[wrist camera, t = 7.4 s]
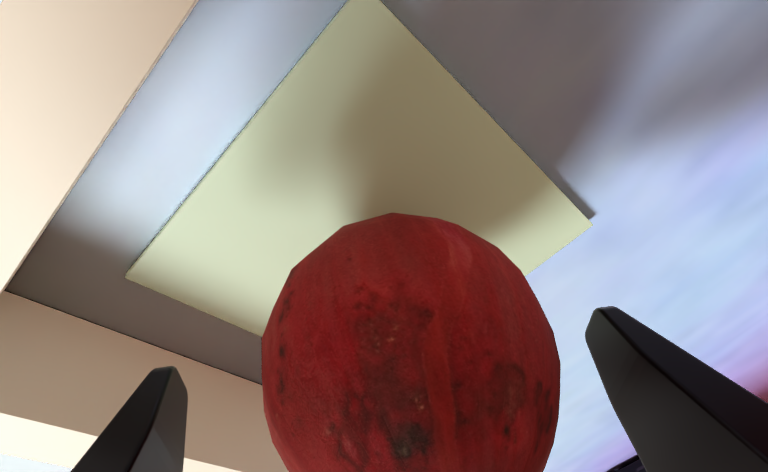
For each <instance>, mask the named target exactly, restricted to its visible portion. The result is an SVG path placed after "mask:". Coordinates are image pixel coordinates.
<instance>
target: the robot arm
mask: <svg viewBox="0 0 768 472" xmlns="http://www.w3.org/2000/svg"><path fill="white" fill-rule="evenodd" d="M585 338H586V342H587V345H588V348H589V350H590V353H591V355H592V358H593V360H594V363H595V365H596V368H597V370H598V373H599V375H600V378H601V380H602V383H603V385H604V388H605V390H606V393H607V395H608V397H609V400H610V402H611V404H612V406H613V408H614V410H615V412H616V414H617V416H618V418H619V420H620V422H621V424H622V426H623V427H624V429H625V431H626V433H627V435H628V437H629V439H630V441H631V443H632V445H633V446H634V448H635V450H636V452H637V454H638V456H639V458H640V459H639V460H637V461H635V462H633V463H631V464H629V465H628V466H626V467H624V468H622V469H620V470H618V471H616V472H768V403H766V402H765V401H763V400H762V399H760V398H759V397H757V396H755V395H754V394H752V393H751V392H749V391H748V390H746V389H744V388H743V387H741V386H740V385H738V384H736V383H735V382H733V381H732V380H730V379H729V378H727V377H725V376H724V375H722V374H721V373H719V372H718V371H716V370H714V369H713V368H711V367H710V366H708V365H707V364H705V363H703V362H702V361H700V360H699V359H697V358H696V357H694V356H692V355H691V354H689V353H688V352H686V351H685V350H683V349H681V348H680V347H678V346H677V345H675V344H674V343H672V342H670V341H669V340H667V339H666V338H664V337H663V336H661V335H659V334H658V333H656V332H655V331H653V330H652V329H650V328H648V327H647V326H645V325H644V324H642V323H640V322H639V321H637V320H636V319H634V318H633V317H631V316H629V315H628V314H626V313H625V312H623V311H622V310H620V309H618V308H616V307H614V306H608V307H601V308H596V309H595V310H594V311H593V314H592V316H591V319H590V321H589V324H588V326H587V329H586V332H585ZM187 407H188V393H187V389H186V386H185V384H184V382H183V380H182V378H181V376H180V374H179V372H178V370H177V368H176V367H174V366H166V367H159V368H155V369H153V370H151V371H150V372H149V374H148V375H147V376H146V377H145V379H144V380H143V381H142V382H141V384H140V385H139V386H138V387H137V389H136V390H135V391H134V392H133V394H132V395H131V396H130V397H129V399H128V400H127V401H126V403H125V404H124V405H123V406H122V408H121V409H120V410H119V411H118V413H117V414H116V415H115V416H114V418H113V419H112V420H111V421H110V423H109V424H108V425H107V426H106V428H105V429H104V430H103V431H102V433H101V434H100V435H99V437H98V438H97V439H96V440H95V442H94V443H93V444H92V445H91V447H90V448H89V449H88V450H87V452H86V453H85V454H84V455H83V457H82V458H81V459H80V460H79V462H78V463H77V464H76V465H75V467H74V468H73V469H72V471H71V472H183V464H184V450H185V436H186V421H187Z"/></svg>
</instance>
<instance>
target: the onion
mask: <svg viewBox="0 0 768 472" xmlns="http://www.w3.org/2000/svg"><path fill="white" fill-rule="evenodd" d="M262 387H263V403H264V414H265V417H266V421H267V424H268V428H269V432H270V435H271V439H272V443H273V444H274V446H275V448H276V450H277V452H278V454H279V455H280V457H281V459H282V461H283V463H284V465H285V466H286V468H287V470H288V471H289V472H543V470H544V468H545V466H546V463H547V460H548V457H549V455H550V452H551V449H552V446H553V443H554V438H555V432H556V427H557V422H558V415H559V399H560V359H559V355H558V351H557V346H556V342H555V338H554V333H553V330H552V328H551V326H550V324H549V322H548V320H547V318H546V316H545V314H544V312H543V310H542V308H541V306H540V304H539V301H538V300H537V298H536V296H535V294H534V293H533V291H532V289H531V287H530V286H529V284H528V282H527V280H526V278H525V277H524V275H523V273H522V271H521V270H520V269H519V268H518V267H517V266H516V265H515V264H514V263H513V262H512V261H511V260H510V259H509V258H508V257H507V256H506V255H505V254H504V253H503V252H502V251H501V250H500V249H499V248H498V247H497V246H495V245H493V244H491V243H490V242H488V241H486V240H484V239H483V238H481V237H479V236H477V235H476V234H474V233H472V232H470V231H469V230H467V229H465V228H463V227H462V226H460V225H458V224H455V223H452V222H449V221H445V220H442V219H439V218H433V217H425V216H417V215H409V214H401V213H393V212H392V213H388V214H385V215H381V216H377V217H374V218H370V219H366V220H363V221H359V222H355V223H352V224H348V225H344V226H342V227H341V228H340V229H339V230H338V231H336V232H335V233H334V234H333V235H331V236H330V237H329V238H328V239H327V240H325V241H324V242H323V243H322V244H320V245H319V246H318V247H317V248H315V249H314V250H313V251H312V252H311V253H309V254H308V255H307V256H306V257H305V258H304V259H302V260H301V261H300V262H299V263H298V264H297V265H296V266H294V267H293V268H292V269H291V271H290V273H289V275H288V278H287V280H286V282H285V284H284V286H283V288H282V290H281V292H280V294H279V297H278V299H277V301H276V303H275V305H274V307H273V309H272V312H271V315H270V317H269V320H268V323H267V326H266V328H265V331H264V334H263V336H262Z"/></svg>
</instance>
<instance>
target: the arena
mask: <svg viewBox="0 0 768 472" xmlns="http://www.w3.org/2000/svg"><path fill="white" fill-rule="evenodd" d="M198 1H199V0H2V2H1V4H0V454H5V455H9V456H14V457H19V458H24V459H29V460H34V461H39V462H44V463H49V464H54V465H59V466H64V467H69V468H74V467H75V465H76V464H77V463H78V462H79V460H80V459H81V458H82V457H83V455H84V454H85V453H86V452H87V450H88V449H89V448H90V447H91V445H92V444H93V443H94V442H95V440H96V439H97V438H98V437H99V435H100V434H101V433H102V431H103V430H104V429H105V428H106V426H107V425H108V424H109V423H110V421H111V420H112V419H113V418H114V416H115V415H116V414H117V413H118V411H119V410H120V409H121V408H122V406H123V405H124V404H125V403H126V401H127V400H128V399H129V397H130V396H131V395H132V394H133V392H134V391H135V390H136V389H137V387H138V386H139V385H140V384H141V382H142V381H143V380H144V379H145V377H146V376H147V375H148V374H149V372H150V371H151V370H153V369H155V368H159V367H166V366H174V367H176V368H177V370H178V372H179V374H180V376H181V378H182V380H183V382H184V384H185V386H186V389H187V393H188V407H187V421H186V436H185V450H184V464H183V472H289V471H288V470H287V468H286V466H285V465H284V463H283V461H282V459H281V457H280V455H279V454H278V452H277V450H276V448H275V446H274V444H273V443H272V439H271V435H270V432H269V428H268V424H267V421H266V417H265V414H264V403H263V387H262V385H260V384H257V383H254V382H252V381H249V380H246V379H243V378H241V377H238V376H235V375H232V374H230V373H227V372H224V371H222V370H219V369H216V368H213V367H211V366H208V365H205V364H202V363H200V362H197V361H194V360H192V359H189V358H186V357H183V356H181V355H178V354H175V353H173V352H170V351H167V350H164V349H162V348H159V347H156V346H153V345H151V344H148V343H145V342H143V341H140V340H137V339H134V338H132V337H129V336H126V335H123V334H121V333H118V332H115V331H113V330H110V329H107V328H104V327H102V326H99V325H96V324H93V323H91V322H88V321H85V320H83V319H80V318H77V317H74V316H72V315H69V314H66V313H63V312H61V311H58V310H55V309H53V308H50V307H47V306H44V305H42V304H39V303H36V302H33V301H31V300H28V299H25V298H23V297H20V296H17V295H14V294H12V293H9V292H6V291H4V290H5V288H6V287H7V285H8V284H9V282H10V281H11V279H12V278H13V276H14V275H15V273H16V272H17V270H18V269H19V267H20V266H21V264H22V263H23V261H24V260H25V258H26V257H27V255H28V254H29V253H30V251H31V250H32V248H33V247H34V245H35V244H36V242H37V241H38V239H39V238H40V236H41V235H42V233H43V232H44V230H45V229H46V227H47V226H48V224H49V223H50V221H51V220H52V218H53V217H54V215H55V214H56V212H57V211H58V209H59V208H60V206H61V205H62V203H63V202H64V200H65V199H66V197H67V196H68V194H69V193H70V191H71V190H72V188H73V187H74V185H75V184H76V183H77V181H78V180H79V178H80V177H81V175H82V174H83V172H84V171H85V169H86V168H87V166H88V165H89V163H90V162H91V160H92V159H93V157H94V156H95V154H96V153H97V151H98V150H99V148H100V147H101V145H102V144H103V142H104V141H105V139H106V138H107V136H108V135H109V133H110V132H111V130H112V129H113V127H114V126H115V124H116V123H117V121H118V120H119V118H120V117H121V116H122V114H123V113H124V111H125V110H126V108H127V107H128V105H129V104H130V102H131V101H132V99H133V98H134V96H135V95H136V93H137V92H138V90H139V89H140V87H141V86H142V84H143V83H144V81H145V80H146V78H147V77H148V75H149V74H150V72H151V71H152V69H153V68H154V66H155V65H156V63H157V62H158V60H159V59H160V57H161V56H162V54H163V53H164V51H165V50H166V48H167V47H168V46H169V44H170V43H171V41H172V40H173V38H174V37H175V35H176V34H177V32H178V31H179V29H180V28H181V26H182V25H183V23H184V22H185V20H186V19H187V17H188V16H189V14H190V13H191V11H192V10H193V8H194V7H195V5H196V4H197V2H198ZM392 212H393V213H401V214H409V215H417V216H425V217H433V218H439V219H442V220H445V221H449V222H452V223H455V224H458V225H460V226H462V227H463V228H465V229H467V230H469V231H470V232H472V233H474V234H476V235H477V236H479V237H481V238H483V239H484V240H486V241H488V242H490V243H491V244H493V245H495V246H497V247H498V248H499V249H500V250H501V251H502V252H503V253H504V254H505V255H506V256H507V257H508V258H509V259H510V260H511V261H512V262H513V263H514V264H515V265H516V266H517V267H518V268H519V269H520V270H521V271H522V273H523V275H524V277H525V276H526V275H527V274H529V273H530V272H531V271H533V270H534V269H535V268H537V267H538V266H539V265H541V264H542V263H543V262H545V261H546V260H547V259H549V258H550V257H551V256H553V255H554V254H555V253H557V252H558V251H559V250H561V249H562V248H563V247H565V246H566V245H567V244H569V243H570V242H571V241H573V240H574V239H575V238H577V237H578V236H579V235H581V234H582V233H583V232H584V231H586V230H587V229H588V228H590V227H591V226H592V225H593V224H592V223H591V222H590V221H589V220H588V219H587V218H586V217H585V216H584V215H583V213H582V212H581V211H580V210H579V209H578V208H577V207H576V206H575V205H574V204H573V203H572V202H571V201H570V200H569V199H568V198H567V197H566V196H565V195H564V193H563V192H562V191H561V190H560V189H559V188H558V187H557V186H556V185H555V184H554V183H553V182H552V181H551V180H550V179H549V178H548V177H547V176H546V175H545V173H544V172H543V171H542V170H541V169H540V168H539V167H538V166H537V165H536V164H535V163H534V162H533V161H532V160H531V159H530V158H529V157H528V156H527V155H526V153H525V152H524V151H523V150H522V149H521V148H520V147H519V146H518V145H517V144H516V143H515V142H514V141H513V140H512V139H511V138H510V137H509V136H508V134H507V133H506V132H505V131H504V130H503V129H502V128H501V127H500V126H499V125H498V124H497V123H496V122H495V121H494V120H493V119H492V118H491V117H490V116H489V114H488V113H487V112H486V111H485V110H484V109H483V108H482V107H481V106H480V105H479V104H478V103H477V102H476V101H475V100H474V99H473V98H472V97H471V96H470V94H469V93H468V92H467V91H466V90H465V89H464V88H463V87H462V86H461V85H460V84H459V83H458V82H457V81H456V80H455V79H454V78H453V77H452V76H451V74H450V73H449V72H448V71H447V70H446V69H445V68H444V67H443V66H442V65H441V64H440V63H439V62H438V61H437V60H436V59H435V58H434V57H433V56H432V54H431V53H430V52H429V51H428V50H427V49H426V48H425V47H424V46H423V45H422V44H421V43H420V42H419V41H418V40H417V39H416V38H415V37H414V36H413V34H412V33H411V32H410V31H409V30H408V29H407V28H406V27H405V26H404V25H403V24H402V23H401V22H400V21H399V20H398V19H397V18H396V17H395V16H394V14H393V13H392V12H391V11H390V10H389V9H388V8H387V7H386V6H385V5H384V4H383V3H382V2H381V1H380V0H348V1H347V2H346V3H345V4H344V6H343V7H342V8H341V9H340V11H339V12H338V13H337V14H336V16H335V17H334V18H333V19H332V20H331V22H330V23H329V24H328V25H327V27H326V28H325V29H324V30H323V32H322V33H321V34H320V35H319V36H318V38H317V39H316V40H315V41H314V43H313V44H312V45H311V46H310V48H309V49H308V50H307V51H306V52H305V54H304V55H303V56H302V57H301V59H300V60H299V61H298V62H297V64H296V65H295V66H294V67H293V68H292V70H291V71H290V72H289V73H288V75H287V76H286V77H285V78H284V80H283V81H282V82H281V83H280V84H279V86H278V87H277V88H276V89H275V91H274V92H273V93H272V94H271V96H270V97H269V98H268V99H267V100H266V102H265V103H264V104H263V105H262V107H261V108H260V109H259V110H258V112H257V113H256V114H255V115H254V116H253V118H252V119H251V120H250V121H249V123H248V124H247V125H246V126H245V128H244V129H243V130H242V131H241V132H240V134H239V135H238V136H237V137H236V139H235V140H234V141H233V142H232V144H231V145H230V146H229V147H228V148H227V150H226V151H225V152H224V153H223V155H222V156H221V157H220V158H219V160H218V161H217V162H216V163H215V164H214V166H213V167H212V168H211V169H210V171H209V172H208V173H207V174H206V176H205V177H204V178H203V179H202V180H201V182H200V183H199V184H198V185H197V187H196V188H195V189H194V190H193V192H192V193H191V194H190V195H189V196H188V198H187V199H186V200H185V201H184V203H183V204H182V205H181V206H180V208H179V209H178V210H177V211H176V212H175V214H174V215H173V216H172V217H171V219H170V220H169V221H168V222H167V224H166V225H165V226H164V227H163V228H162V230H161V231H160V232H159V233H158V235H157V236H156V237H155V238H154V240H153V241H152V242H151V243H150V244H149V246H148V247H147V248H146V249H145V251H144V252H143V253H142V254H141V256H140V257H139V258H138V259H137V260H136V262H135V263H134V264H133V265H132V267H131V268H130V269H129V270H128V272H127V273H126V275H125V278H126V279H128V280H131V281H133V282H135V283H138V284H140V285H142V286H144V287H147V288H149V289H151V290H154V291H156V292H158V293H161V294H163V295H165V296H168V297H170V298H172V299H175V300H177V301H179V302H182V303H184V304H186V305H189V306H191V307H193V308H195V309H198V310H200V311H202V312H205V313H207V314H209V315H212V316H214V317H216V318H219V319H221V320H223V321H226V322H228V323H230V324H233V325H235V326H237V327H239V328H242V329H244V330H246V331H249V332H251V333H253V334H256V335H258V336H260V337H262V336H263V334H264V331H265V328H266V326H267V323H268V320H269V317H270V315H271V312H272V309H273V307H274V305H275V303H276V301H277V299H278V297H279V294H280V292H281V290H282V288H283V286H284V284H285V282H286V280H287V278H288V275H289V273H290V271H291V269H292V268H293V267H294V266H296V265H297V264H298V263H299V262H300V261H301V260H302V259H304V258H305V257H306V256H307V255H308V254H309V253H311V252H312V251H313V250H314V249H315V248H317V247H318V246H319V245H320V244H322V243H323V242H324V241H325V240H327V239H328V238H329V237H330V236H331V235H333V234H334V233H335V232H336V231H338V230H339V229H340V228H341V227H342V226H344V225H348V224H352V223H355V222H359V221H363V220H366V219H370V218H374V217H377V216H381V215H385V214H388V213H392Z"/></svg>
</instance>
